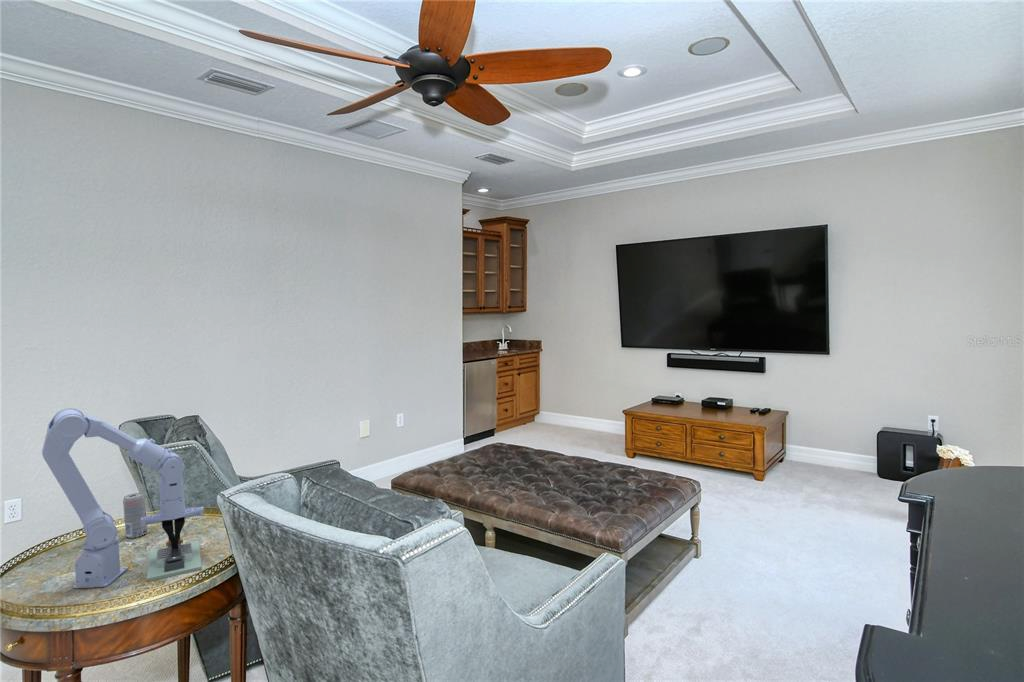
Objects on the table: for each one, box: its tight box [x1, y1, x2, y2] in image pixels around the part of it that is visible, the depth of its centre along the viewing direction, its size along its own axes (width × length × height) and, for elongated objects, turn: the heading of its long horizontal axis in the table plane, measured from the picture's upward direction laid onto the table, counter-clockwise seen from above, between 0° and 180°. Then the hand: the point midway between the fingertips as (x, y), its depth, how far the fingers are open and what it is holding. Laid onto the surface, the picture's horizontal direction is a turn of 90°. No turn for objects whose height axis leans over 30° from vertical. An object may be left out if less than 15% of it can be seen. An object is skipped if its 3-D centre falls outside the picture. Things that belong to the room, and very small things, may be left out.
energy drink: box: [122, 492, 148, 539], centre depth 166 cm, size 5×5×12 cm
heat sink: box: [156, 542, 192, 568], centre depth 149 cm, size 8×8×2 cm
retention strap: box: [165, 537, 184, 563], centre depth 149 cm, size 13×4×1 cm, turn 31°
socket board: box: [146, 533, 202, 582], centre depth 149 cm, size 18×12×5 cm, turn 31°
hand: (174, 545), depth 152 cm, fingers closed, pressing on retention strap
